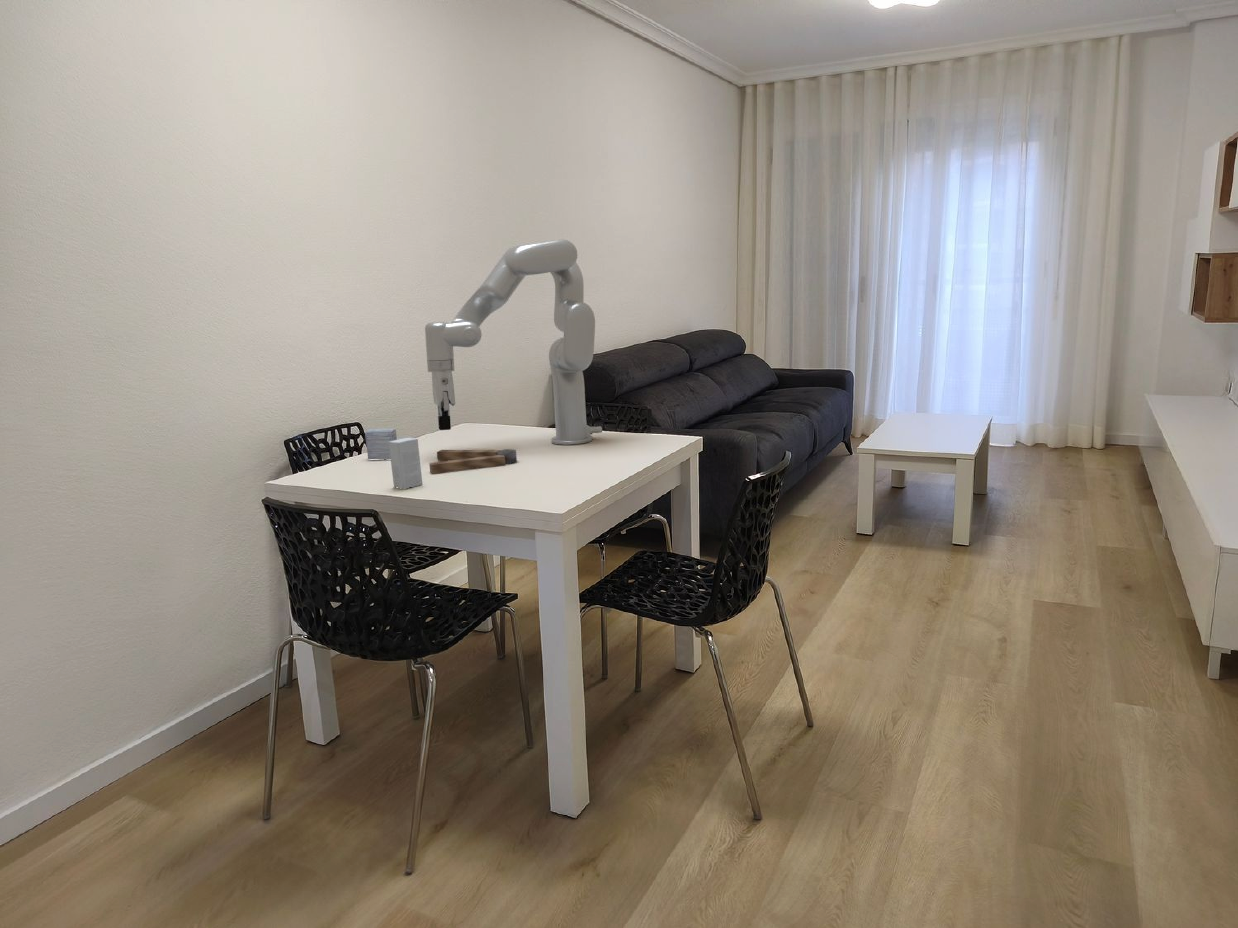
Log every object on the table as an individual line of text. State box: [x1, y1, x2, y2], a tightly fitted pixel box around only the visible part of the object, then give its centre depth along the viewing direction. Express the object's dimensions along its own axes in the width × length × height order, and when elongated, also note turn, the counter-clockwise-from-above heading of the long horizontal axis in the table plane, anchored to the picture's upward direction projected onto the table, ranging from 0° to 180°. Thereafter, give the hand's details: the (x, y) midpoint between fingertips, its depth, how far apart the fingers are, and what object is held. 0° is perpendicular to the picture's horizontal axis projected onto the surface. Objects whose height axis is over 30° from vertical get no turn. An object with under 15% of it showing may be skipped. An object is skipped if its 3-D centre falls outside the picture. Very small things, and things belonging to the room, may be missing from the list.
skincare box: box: [389, 437, 423, 490], centre depth 220 cm, size 6×4×12 cm
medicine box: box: [364, 428, 398, 460], centre depth 258 cm, size 8×4×9 cm, turn 84°
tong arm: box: [436, 449, 500, 462], centre depth 250 cm, size 18×3×2 cm, turn 76°
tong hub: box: [428, 449, 518, 475], centre depth 241 cm, size 24×6×3 cm, turn 111°
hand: (444, 429), depth 255 cm, fingers closed
